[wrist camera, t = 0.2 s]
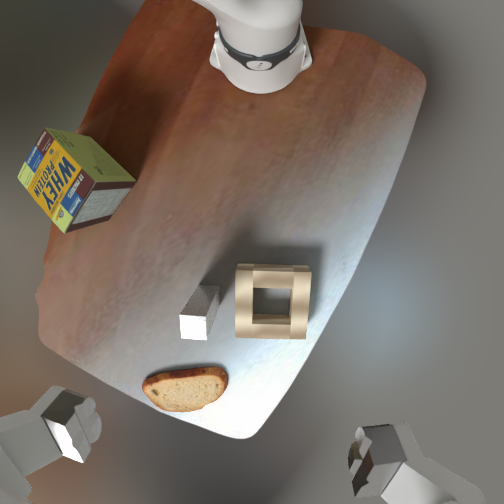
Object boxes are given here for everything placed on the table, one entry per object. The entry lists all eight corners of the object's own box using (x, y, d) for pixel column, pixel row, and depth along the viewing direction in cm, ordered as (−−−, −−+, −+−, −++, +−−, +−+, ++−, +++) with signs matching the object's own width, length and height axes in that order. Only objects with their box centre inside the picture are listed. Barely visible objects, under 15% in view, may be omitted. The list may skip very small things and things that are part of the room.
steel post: (198, 284, 57) (179, 314, 44) (219, 285, 57) (205, 316, 44) (199, 304, 58) (181, 338, 45) (219, 305, 58) (206, 340, 44)
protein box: (90, 135, 52) (43, 126, 37) (138, 181, 54) (96, 182, 38) (64, 175, 54) (15, 177, 39) (108, 222, 55) (63, 235, 40)
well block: (237, 263, 56) (235, 270, 52) (308, 265, 56) (311, 272, 51) (237, 326, 59) (235, 337, 55) (303, 328, 58) (305, 339, 54)
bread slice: (233, 371, 62) (232, 381, 58) (207, 421, 66) (205, 431, 62) (157, 339, 61) (151, 348, 57) (140, 393, 65) (135, 402, 61)
